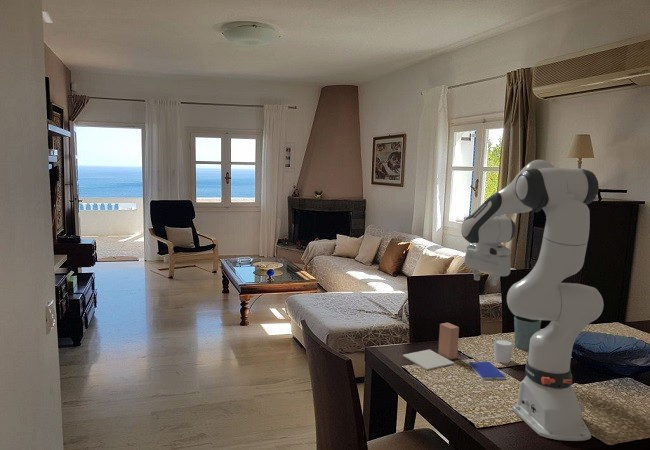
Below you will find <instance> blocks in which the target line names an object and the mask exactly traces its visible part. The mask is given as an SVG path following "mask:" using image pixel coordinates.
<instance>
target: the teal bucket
mask: <svg viewBox="0 0 650 450" xmlns="http://www.w3.org/2000/svg"><path fill="white" fill-rule="evenodd" d="M513 319H514V321H513V323H514V324H513V326H514V346H515V348H516V347H517V349H518V348H519V349H518V350H521V349H522V350H521V351H525V350H526V352H529V344H530V339H531V337H532V335H533V334H534V333H536V332H537V331H539V330H541V327H542V326H541V325H542V320H532V319H527V318H523V317H519V316H515V315H514V317H513Z"/></svg>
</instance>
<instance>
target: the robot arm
mask: <svg viewBox="0 0 650 450" xmlns="http://www.w3.org/2000/svg"><path fill="white" fill-rule="evenodd" d="M599 188H600V187H599V180H598V178H597V175H596V174H595V173H594V172H593V171H591V170H589V169H584V168H567V167H566V168H564V167H563V168H561V167H555V166H554V165H553V164H552V163H551V162H549V161H548V160H544V159H534V160H531V161H530V162H528V163H527V164H526V165H525V166H524V167H523V168H521V170H520V171H519V172H518V173H517V175H516V176H515V177H514V179H513V180H512V181H511V182H510V183H508V184H507V185H506V186H505V187H503V188H502V189H499V191H497V192H495V193H493V194H491V195H490V196H489V197H488V198H487V199H486V200H485V201H483V203H482V204H481V205H480V206H479V207H478V208H477V209H476V210H475V211H474V212H473V213H472V214H469V215H468V216H467V217H466V218H465V219H464V220H463V222H462V224H461V236H462V237H463V238H464V239H465V240H466V241H467V242H468V243H469V244H468V245H467V247H466V251H465V255H464V262H463V263H464V266H465V267H467V268H471V271H472V274H473V280H474V281H477V282H478V281H481V275H479V272H478V271H483V272H485V273H489V274H491V275H492V274H493V275H492V276H493V277H494V278H493V279H491V280H490V285H491V286H498V285H497V284H498V281H499V279H500V278H501V277H508V276H509V275H510V274H511V268H512V262H511V261H512V260H511V257H510V255H511V254H512V250H511V249H510V248H508V247H506V246H505V245H504V244H505V243H510V242H511V241H512V240H513V238H515V235H516V230H517V228H516V223H515V221H513V220H512V218H511V217H508V216H506V215H510V214H511V215H512V214H523V213H529V212H531V211H533V212H534V213H539V212H540V211H542V210H543V212H544V214H545V216H546V217H545V219H546V220H545V225H544V231H543V236H542V240H541V241H542V242H541V247H540V252H539V254H538V255H539V256H538V259H537V261H536V263H535V265H534V266H533V268H532V269H531V270H530V272H529V273H528V274H527V275H526V276H524V277H523V278H521V279H520V280H519V281H516V282H515V283H513V284H512V285H511V286H510V288H508V291H507V294H506V303H507V304H506V305H507V306H508V309H509V310H510V312H511V314H513V315H514V317H515V316H519V317H523V318H527V319H532V320H541V321H550V322H549V324H547V326H545V327H544V328H542V329H540V330H539V331H537V332H536V333H534V334H533V335H532V337H531V339H530V344H529V351H528V360H527V361H526V364H525V373H524V374H525V377H524V378H523V380H521V381H520V383H519V388H518V392H517V393H518V394H517V401H516V403H515V404H513V405H512V408H511V410H512V411H513V412H514V413H515V414H516V415H517V417H519V418H520V419H522V420H523V421H524V422H525V423H526V425H528V426H529V428H531V429H532V431H534V432H535V433H536V434H538V436H540V437H543V438H547V439H551V440H552V439H553V440H557V441H569V442H570V441H571V442H579V441H582V442H583V441H587V440H590V439H591V438H592V433H591V432H590V429H589V428H588V426H587V425H586V423H585V421H584V420H583V413H585V405H584V404H583V403H579V400H578V393H576V392H575V391H574V389H573V386H572V385H573V375H572V369H571V361H572V360H571V359H572V353H573V348H574V344H575V342H576V340H577V338H578V336H579V335H580V333H581V332H582V330H583V329H584V328H586V327H587V326H588V325H590V324H591V323H592V322H594V321H596V320H597V319H598V318H599V317H600V316H601V315H602V313H603V310H604V299H603V296H602V295H601V293H600V292H599V290H598V289H597V288H596V287H593V286H589V285H586V284H581V283H574V282H573V283H572V282H563V281H564V280H565V279H567V278H570V277H572V276H573V275H576V274H577V273H578V272H580V270H582V268H583V266H584V263H585V257H586V252H587V248H588V241H589V237H590V226H591V225H590V223H591V221H590V219H591V218H590V215H591V214H590V213H591V212H590V208H589V207H588V204H591V203H592V202H594V201H595V199H596V197H597V196H598V193H599V190H600V189H599Z"/></svg>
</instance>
